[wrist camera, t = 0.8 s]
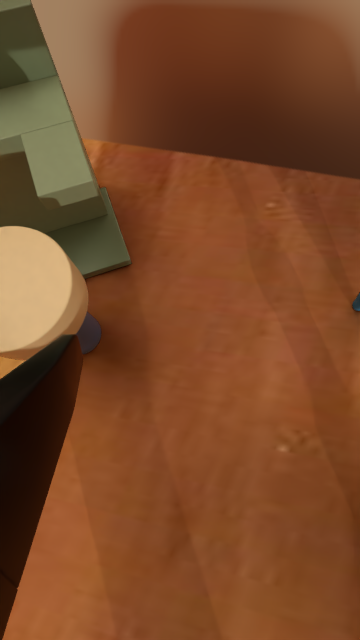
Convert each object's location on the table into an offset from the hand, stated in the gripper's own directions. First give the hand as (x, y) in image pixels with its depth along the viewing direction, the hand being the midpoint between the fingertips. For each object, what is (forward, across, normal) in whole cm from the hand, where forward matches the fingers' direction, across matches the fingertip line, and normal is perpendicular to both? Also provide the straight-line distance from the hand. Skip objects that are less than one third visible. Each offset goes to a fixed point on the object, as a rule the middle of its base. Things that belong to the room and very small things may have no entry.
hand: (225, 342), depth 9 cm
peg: (+11, +9, +8) cm, 17 cm away
